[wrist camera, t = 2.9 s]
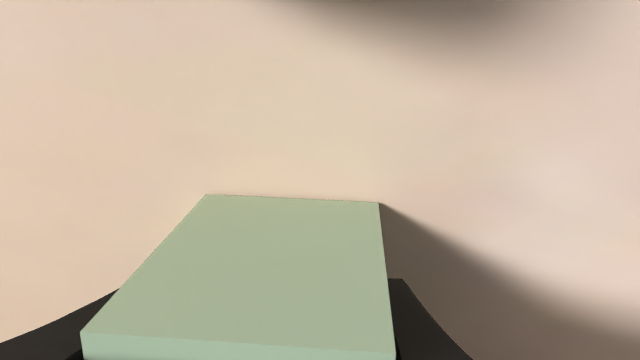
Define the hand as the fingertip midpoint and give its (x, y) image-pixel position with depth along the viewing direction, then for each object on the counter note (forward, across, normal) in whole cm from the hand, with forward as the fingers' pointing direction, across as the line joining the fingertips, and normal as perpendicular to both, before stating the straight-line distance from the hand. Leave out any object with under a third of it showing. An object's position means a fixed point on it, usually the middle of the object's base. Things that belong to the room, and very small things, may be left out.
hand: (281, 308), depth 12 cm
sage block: (+2, 0, 0) cm, 2 cm away
